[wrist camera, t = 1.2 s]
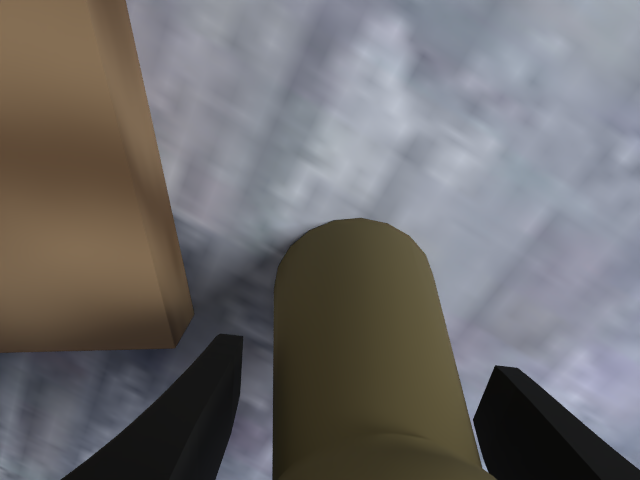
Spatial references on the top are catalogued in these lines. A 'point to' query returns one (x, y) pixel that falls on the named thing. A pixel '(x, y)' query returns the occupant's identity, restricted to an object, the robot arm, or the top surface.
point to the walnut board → (82, 187)
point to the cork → (365, 363)
